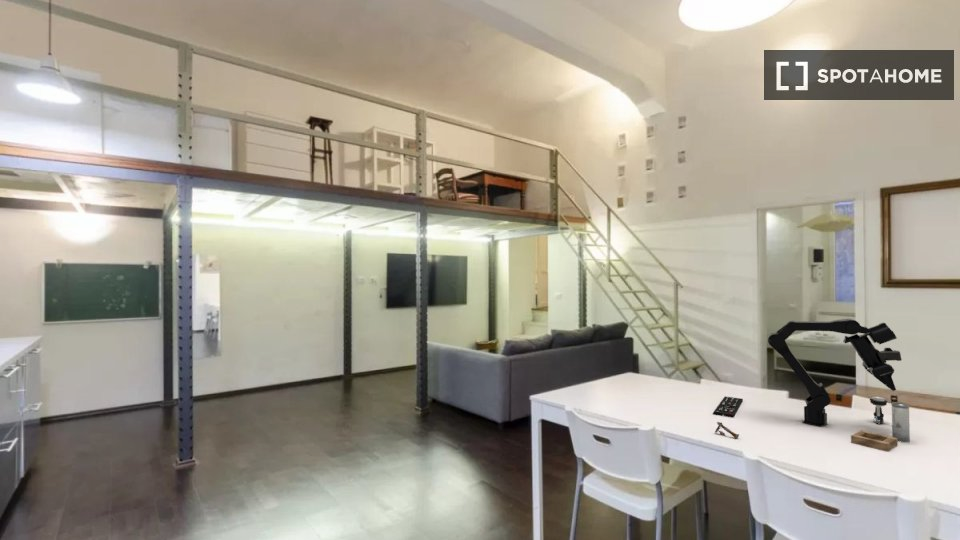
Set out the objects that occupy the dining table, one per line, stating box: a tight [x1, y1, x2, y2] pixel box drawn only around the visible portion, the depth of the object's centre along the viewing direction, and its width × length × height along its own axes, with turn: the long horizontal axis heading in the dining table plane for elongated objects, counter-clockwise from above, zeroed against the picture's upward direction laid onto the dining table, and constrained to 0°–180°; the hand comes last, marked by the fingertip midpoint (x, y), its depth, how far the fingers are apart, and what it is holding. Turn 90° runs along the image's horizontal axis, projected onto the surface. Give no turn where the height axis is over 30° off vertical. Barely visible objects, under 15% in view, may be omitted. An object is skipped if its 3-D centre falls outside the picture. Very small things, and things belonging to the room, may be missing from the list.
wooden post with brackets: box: [714, 421, 740, 440], centre depth 166 cm, size 2×8×4 cm, turn 36°
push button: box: [869, 396, 888, 425], centre depth 180 cm, size 7×5×10 cm
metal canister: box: [890, 401, 911, 443], centre depth 161 cm, size 5×5×13 cm
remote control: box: [712, 396, 744, 418], centre depth 202 cm, size 8×32×2 cm, turn 144°
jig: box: [850, 429, 899, 452], centre depth 157 cm, size 10×10×2 cm
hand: (891, 387), depth 168 cm, fingers open, 9 cm apart
